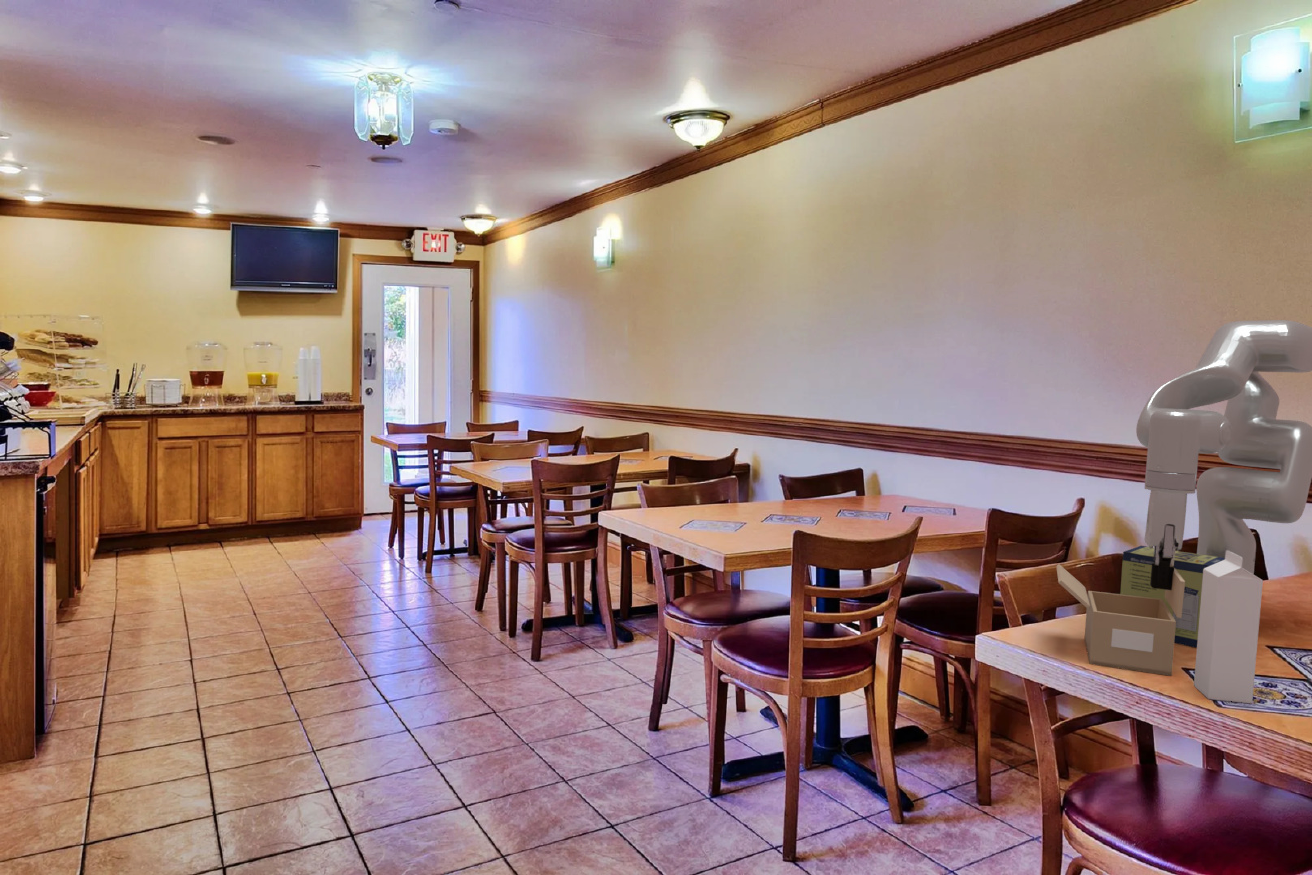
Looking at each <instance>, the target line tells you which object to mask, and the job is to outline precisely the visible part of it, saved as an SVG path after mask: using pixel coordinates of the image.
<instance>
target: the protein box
mask: <svg viewBox="0 0 1312 875" xmlns="http://www.w3.org/2000/svg"><path fill="white" fill-rule="evenodd" d="M1153 557H1154V547H1153V548H1150V547H1149V546H1148V545H1147V546H1146V545H1139V546H1136V547H1133V548H1131V549H1127V550H1125V551H1123V552H1122V566H1121V579H1120V580H1121V581H1120V593H1119V594H1121V595H1130V596H1138V597H1147V598H1155V599H1163V601H1164V603H1165V604H1166V606H1167V608H1168V609H1169V611H1170V613H1171V614H1172V616H1173V618H1174V619H1175V621H1176V628H1175V640H1174V644H1178V645H1181V646H1186V647H1190V646H1191V648H1196V649H1197V641H1198V629H1199V617H1200V605H1201V592H1202V580H1203V569H1204V568H1206V567H1209V566H1211V565H1213V564H1216V563H1218V562H1220V561H1223V560H1225V558H1221V557H1214V556H1207V555H1200V554H1197V553H1193V552H1186V551H1185V552H1184V551H1180V550H1179V551H1176V550H1175V558H1174V568H1175V569H1176V570H1177V572H1178V573H1179V574H1180V576H1181V577H1182V578H1183V580H1184V581H1185V588H1184V598H1183V608H1182V617H1181V618H1178V617H1177V616H1176V615H1175V613H1174V611H1173V610H1172V608H1171V607H1170V605H1169V603H1168V602H1167V600H1166V598H1165V590H1164V589H1156V588H1152V587H1151V585H1150V581H1151V569H1152V563H1153Z"/></svg>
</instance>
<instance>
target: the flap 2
mask: <svg viewBox="0 0 1312 875" xmlns="http://www.w3.org/2000/svg"><path fill="white" fill-rule="evenodd" d="M1184 588H1185V581H1184V580H1183V578H1182V577H1181V576H1180V574H1179V573H1178V572H1177V570H1176V569H1175V568H1174V571H1173V580H1172V590H1165V598H1166V600H1167V602H1168V603H1169V605H1170V607H1171V608H1172V610H1173V611H1174V613H1175V615H1176V616H1177V617H1178V618H1181V617H1182V608H1183V598H1184Z"/></svg>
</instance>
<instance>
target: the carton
mask: <svg viewBox="0 0 1312 875" xmlns="http://www.w3.org/2000/svg"><path fill="white" fill-rule="evenodd" d="M1087 596H1088V600H1089V604H1090V606H1089V607H1088V608H1086V612H1085V614H1086V615H1085V628H1084V629H1085V630H1084V642H1086V643H1085V647H1087V648H1086V651H1087V652H1088V653H1087V657H1088V662H1089V665H1093V664H1095V666H1100V665H1101V667H1109V668H1114V667H1117V668H1116V669H1121V668H1123V669H1122V670H1127V669H1128V671H1129V670H1130V671H1136V672H1141V671H1142V672H1143V673H1147V674H1149V673H1150V674H1157V675H1163V676H1170V677H1171V676H1173V665H1174V664H1173V663H1174V654H1175V653H1174V651H1175V650H1174V649H1175V643H1174V640H1175V628H1176V621H1175V619H1174V618H1173V616H1172V614H1171V613H1170V611H1169V609H1168V608H1167V606H1166V604H1165V603H1164V601H1163V599H1155V598H1147V597H1138V596H1130V595H1121V594H1120V593H1111V592H1103V591H1101V592H1100V591H1095V590H1088V591H1087ZM1118 667H1119V668H1118Z"/></svg>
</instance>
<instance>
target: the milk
mask: <svg viewBox="0 0 1312 875" xmlns="http://www.w3.org/2000/svg"><path fill="white" fill-rule="evenodd" d="M1242 561H1243V559H1242V557H1240V556H1238V555H1236V554H1234V553H1232V552H1230V551H1228V550H1226V555H1225V560H1223V561H1220V562H1218V563H1216V564H1213V565H1211V566H1209V567H1206V568H1204V569H1203V580H1202V592H1201V605H1200V617H1199V629H1198V641H1197V648H1196V654H1195V655H1196V657H1195V668H1194V678H1193V679H1194V680H1193V686H1194V688H1196V689H1197V690H1198V691H1199V692H1200V693H1201V694H1202V695H1203V696H1204V697H1205V698H1207V699H1208V700H1213V701H1214V700H1215V701H1222V702H1225V701H1226V702H1231V701H1232V703H1241V702H1242V703H1243V704H1253V697H1254V685H1255V676H1256V666H1257V665H1256V664H1257V663H1256V662H1257V661H1256V660H1257V652H1258V641H1259V640H1258V639H1259V631H1260V630H1259V629H1260V628H1259V627H1260V618H1261V604H1262V597H1263V596H1262V594H1263V583H1264V580H1263V579H1261V578H1260V577H1258V576H1257V575H1255V574H1254V575H1253V574H1252V573H1250V572H1248V571H1247V570H1245V569H1244V568H1242ZM1242 703H1241V704H1242Z"/></svg>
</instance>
